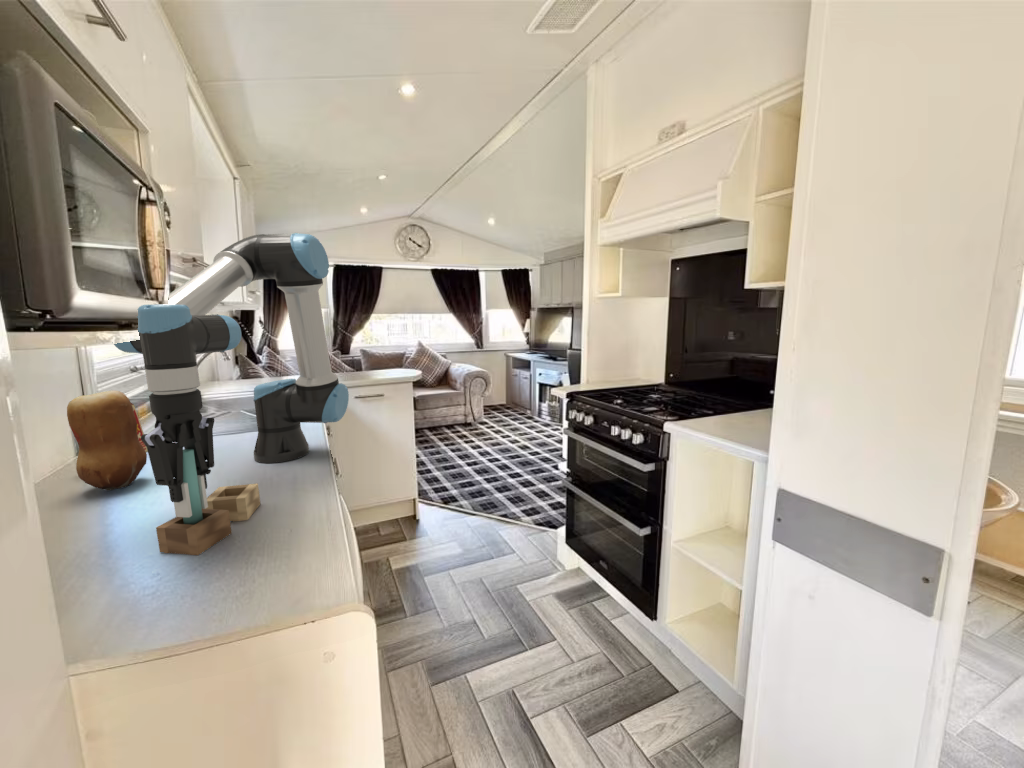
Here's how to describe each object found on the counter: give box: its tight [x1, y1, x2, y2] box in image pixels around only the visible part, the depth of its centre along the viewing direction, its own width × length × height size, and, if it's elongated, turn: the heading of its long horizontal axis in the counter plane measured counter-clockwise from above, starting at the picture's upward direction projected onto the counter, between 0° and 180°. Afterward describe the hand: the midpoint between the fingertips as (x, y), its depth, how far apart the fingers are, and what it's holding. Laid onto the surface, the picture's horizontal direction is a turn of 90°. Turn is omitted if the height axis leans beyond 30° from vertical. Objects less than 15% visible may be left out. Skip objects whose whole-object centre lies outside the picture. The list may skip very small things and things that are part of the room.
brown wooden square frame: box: [155, 509, 233, 556], centre depth 84 cm, size 8×8×5 cm
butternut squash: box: [66, 390, 148, 492], centre depth 110 cm, size 14×13×25 cm
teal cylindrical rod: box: [183, 448, 203, 525], centre depth 83 cm, size 3×3×14 cm
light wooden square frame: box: [206, 483, 261, 522], centre depth 96 cm, size 8×8×5 cm
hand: (192, 511), depth 84 cm, fingers closed on teal cylindrical rod, 3 cm apart
